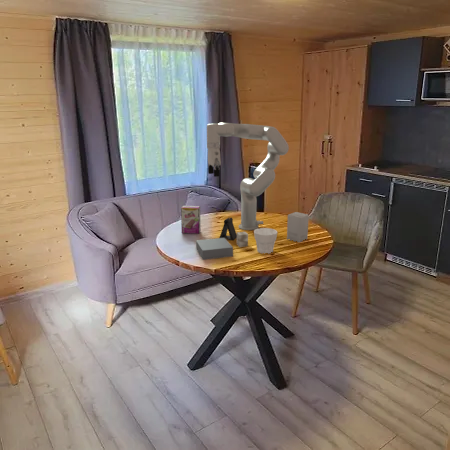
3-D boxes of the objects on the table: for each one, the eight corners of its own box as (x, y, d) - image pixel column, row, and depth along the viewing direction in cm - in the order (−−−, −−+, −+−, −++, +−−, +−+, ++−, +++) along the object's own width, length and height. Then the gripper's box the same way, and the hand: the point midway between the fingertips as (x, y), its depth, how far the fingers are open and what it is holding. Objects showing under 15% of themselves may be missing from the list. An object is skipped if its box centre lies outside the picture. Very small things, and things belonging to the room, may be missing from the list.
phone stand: (237, 237, 241) (237, 218, 237) (233, 240, 236) (233, 220, 232) (223, 235, 244) (223, 216, 241) (219, 238, 239) (219, 218, 236)
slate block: (224, 246, 226) (224, 237, 225) (232, 256, 212) (232, 247, 210) (196, 249, 222) (196, 240, 221) (202, 259, 208) (202, 250, 206)
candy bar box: (181, 233, 248) (180, 207, 243) (183, 231, 253) (182, 205, 248) (199, 234, 247) (199, 207, 242) (200, 231, 252) (200, 205, 247)
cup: (270, 256, 211) (271, 236, 208) (249, 252, 218) (249, 232, 214) (280, 249, 221) (281, 230, 218) (260, 245, 228) (260, 226, 224)
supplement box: (308, 239, 238) (309, 214, 234) (299, 242, 232) (300, 217, 227) (294, 235, 244) (296, 211, 240) (286, 239, 238) (287, 214, 233)
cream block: (245, 243, 231) (245, 231, 229) (247, 246, 227) (248, 234, 224) (236, 244, 230) (236, 232, 228) (239, 247, 225) (239, 235, 223)
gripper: (225, 146, 229) (225, 177, 234) (214, 143, 244) (214, 172, 249) (212, 147, 226) (212, 178, 231) (202, 144, 242) (203, 173, 247)
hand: (213, 175), depth 240 cm, fingers open, 9 cm apart
